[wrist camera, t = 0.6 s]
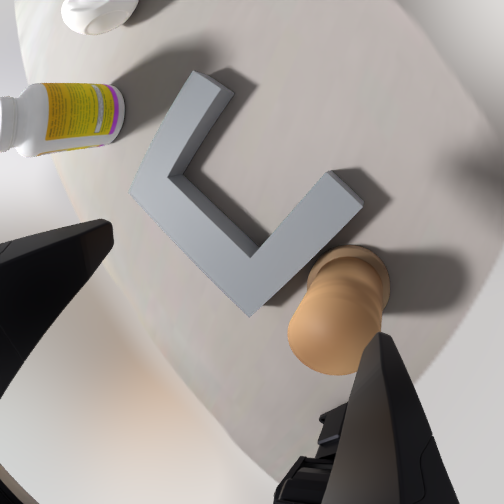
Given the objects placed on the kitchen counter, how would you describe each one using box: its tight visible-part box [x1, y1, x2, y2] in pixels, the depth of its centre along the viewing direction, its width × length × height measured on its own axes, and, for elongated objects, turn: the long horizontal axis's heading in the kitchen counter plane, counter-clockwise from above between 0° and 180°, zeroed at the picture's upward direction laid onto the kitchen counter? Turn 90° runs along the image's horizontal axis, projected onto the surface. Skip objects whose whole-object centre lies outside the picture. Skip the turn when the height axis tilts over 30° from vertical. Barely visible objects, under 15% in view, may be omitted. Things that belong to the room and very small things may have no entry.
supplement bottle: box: [0, 83, 125, 157], centre depth 19 cm, size 7×7×13 cm
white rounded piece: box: [62, 0, 139, 35], centre depth 16 cm, size 8×8×8 cm
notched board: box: [128, 70, 364, 317], centre depth 21 cm, size 15×12×2 cm
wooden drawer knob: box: [288, 245, 390, 375], centre depth 17 cm, size 6×6×7 cm
